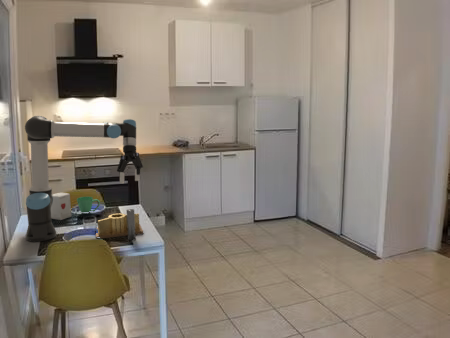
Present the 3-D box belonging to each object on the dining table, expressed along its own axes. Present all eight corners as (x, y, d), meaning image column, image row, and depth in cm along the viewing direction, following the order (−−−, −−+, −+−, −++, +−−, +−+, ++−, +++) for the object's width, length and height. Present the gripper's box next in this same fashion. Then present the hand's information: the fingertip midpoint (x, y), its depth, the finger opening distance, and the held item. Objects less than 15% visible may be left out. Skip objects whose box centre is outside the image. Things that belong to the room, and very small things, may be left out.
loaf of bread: (96, 239, 225) (95, 222, 223) (95, 230, 239) (93, 214, 237) (143, 233, 233) (142, 217, 231) (139, 225, 247) (138, 209, 245)
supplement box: (60, 220, 258) (58, 196, 255) (50, 218, 262) (48, 195, 259) (72, 216, 266) (70, 193, 263) (61, 214, 270) (59, 192, 267)
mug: (75, 215, 268) (74, 200, 266) (81, 211, 278) (80, 196, 276) (97, 215, 267) (96, 200, 265) (103, 211, 276) (102, 196, 275)
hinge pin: (128, 240, 222) (126, 211, 219) (127, 238, 226) (126, 209, 223) (136, 239, 224) (134, 210, 221) (135, 237, 227) (133, 208, 224)
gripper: (148, 143, 240) (149, 180, 237) (121, 150, 255) (121, 184, 252) (138, 141, 234) (138, 178, 231) (111, 148, 250) (110, 183, 246)
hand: (129, 182), depth 241 cm, fingers open, 13 cm apart
